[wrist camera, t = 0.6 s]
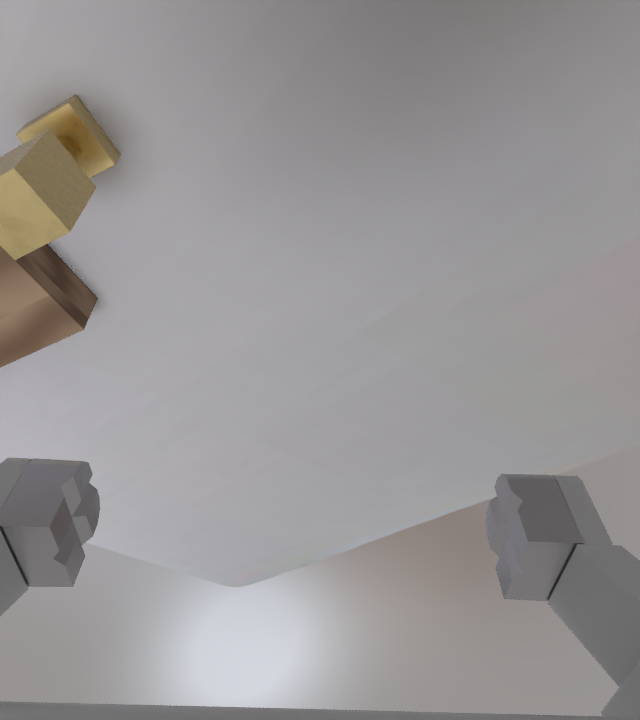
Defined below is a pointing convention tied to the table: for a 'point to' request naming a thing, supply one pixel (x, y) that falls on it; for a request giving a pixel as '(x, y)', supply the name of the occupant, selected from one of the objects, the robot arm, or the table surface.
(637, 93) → the table surface
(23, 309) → the keyhole plate
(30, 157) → the t peg
